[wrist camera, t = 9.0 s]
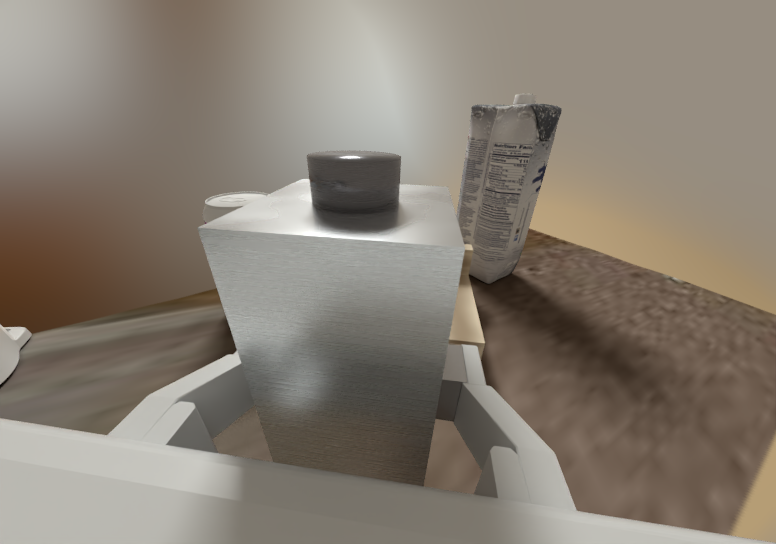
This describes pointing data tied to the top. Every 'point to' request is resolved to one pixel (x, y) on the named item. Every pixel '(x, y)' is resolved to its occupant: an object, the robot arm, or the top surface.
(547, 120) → the juice carton
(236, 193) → the supplement can
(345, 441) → the square capped bottle
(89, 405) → the top surface
